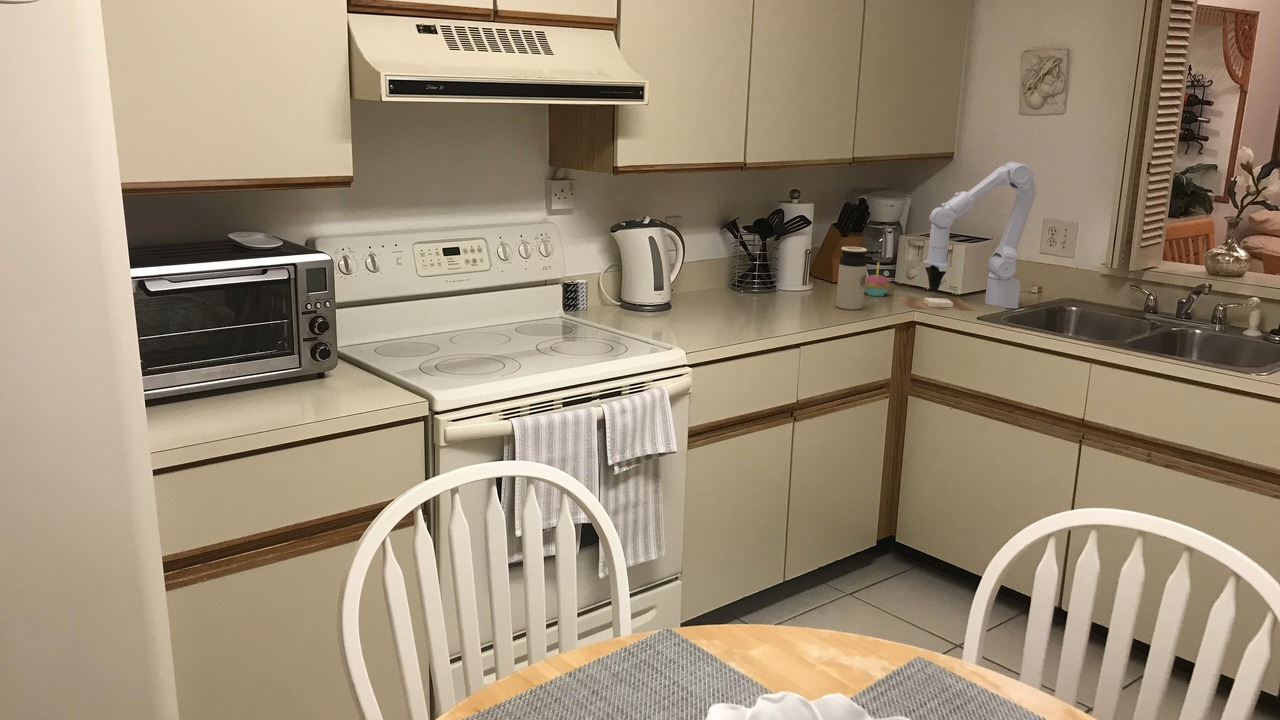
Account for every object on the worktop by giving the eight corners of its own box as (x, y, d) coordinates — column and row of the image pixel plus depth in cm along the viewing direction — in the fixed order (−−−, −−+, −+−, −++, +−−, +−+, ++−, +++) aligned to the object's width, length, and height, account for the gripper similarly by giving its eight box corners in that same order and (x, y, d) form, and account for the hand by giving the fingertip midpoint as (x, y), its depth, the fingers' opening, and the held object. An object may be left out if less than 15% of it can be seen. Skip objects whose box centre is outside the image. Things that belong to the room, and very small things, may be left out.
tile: (946, 298, 313) (953, 302, 307) (946, 303, 314) (952, 307, 307) (924, 297, 313) (930, 302, 307) (923, 302, 314) (929, 307, 307)
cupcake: (889, 300, 320) (893, 262, 317) (862, 298, 321) (865, 261, 318) (887, 295, 328) (891, 258, 325) (860, 293, 329) (864, 256, 326)
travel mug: (830, 306, 307) (835, 247, 303) (846, 303, 312) (851, 245, 308) (851, 311, 301) (856, 251, 297) (867, 308, 307) (873, 249, 302)
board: (958, 301, 322) (958, 298, 322) (977, 313, 305) (977, 310, 304) (895, 299, 322) (896, 296, 321) (910, 311, 304) (911, 308, 304)
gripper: (918, 243, 319) (914, 285, 322) (932, 250, 305) (927, 294, 308) (941, 243, 319) (936, 286, 323) (955, 250, 305) (950, 295, 308)
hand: (933, 290), depth 315 cm, fingers closed
